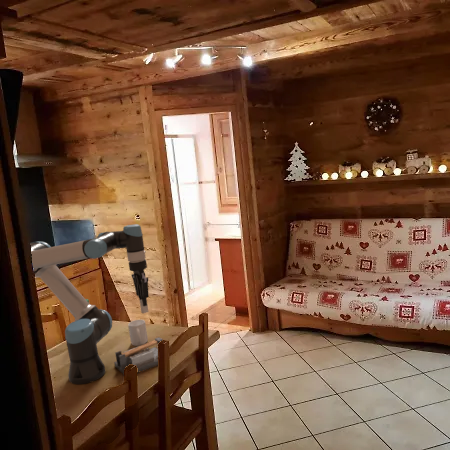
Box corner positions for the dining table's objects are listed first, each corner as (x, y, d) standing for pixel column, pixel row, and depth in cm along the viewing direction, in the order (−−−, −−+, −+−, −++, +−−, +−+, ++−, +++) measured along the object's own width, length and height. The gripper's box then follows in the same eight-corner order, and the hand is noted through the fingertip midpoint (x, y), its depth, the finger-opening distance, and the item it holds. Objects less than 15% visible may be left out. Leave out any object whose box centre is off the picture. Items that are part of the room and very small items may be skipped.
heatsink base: (126, 377, 186) (123, 359, 185) (114, 366, 198) (111, 349, 197) (170, 360, 197) (167, 342, 196) (156, 350, 209) (154, 334, 208)
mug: (149, 346, 214) (146, 326, 213) (131, 350, 213) (128, 330, 211) (147, 337, 226) (144, 318, 224) (130, 341, 224) (127, 321, 222)
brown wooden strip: (121, 359, 190) (120, 357, 190) (118, 357, 193) (117, 355, 193) (157, 343, 199) (157, 341, 199) (154, 341, 202) (154, 339, 202)
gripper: (151, 260, 190) (159, 313, 193) (139, 256, 200) (146, 306, 204) (135, 264, 186) (143, 318, 189) (123, 260, 196) (131, 311, 200)
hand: (145, 312), depth 197 cm, fingers closed
